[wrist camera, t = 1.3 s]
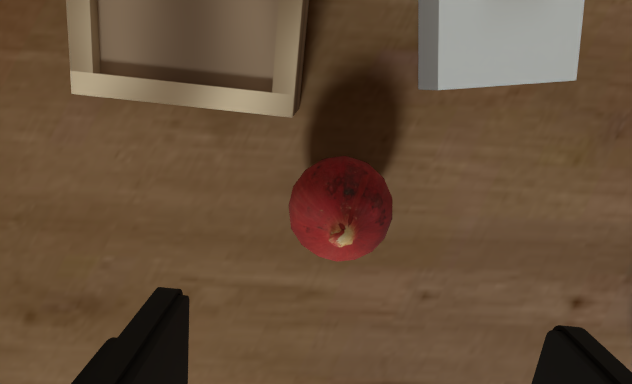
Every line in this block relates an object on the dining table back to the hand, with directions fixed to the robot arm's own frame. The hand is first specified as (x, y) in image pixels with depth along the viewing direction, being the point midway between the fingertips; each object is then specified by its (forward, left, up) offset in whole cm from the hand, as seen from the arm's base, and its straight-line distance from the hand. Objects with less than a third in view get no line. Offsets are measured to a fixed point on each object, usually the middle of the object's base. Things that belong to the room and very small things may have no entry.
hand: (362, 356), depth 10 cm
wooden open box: (+8, -10, -16) cm, 21 cm away
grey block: (-7, -11, -16) cm, 21 cm away
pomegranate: (0, 0, -16) cm, 16 cm away
